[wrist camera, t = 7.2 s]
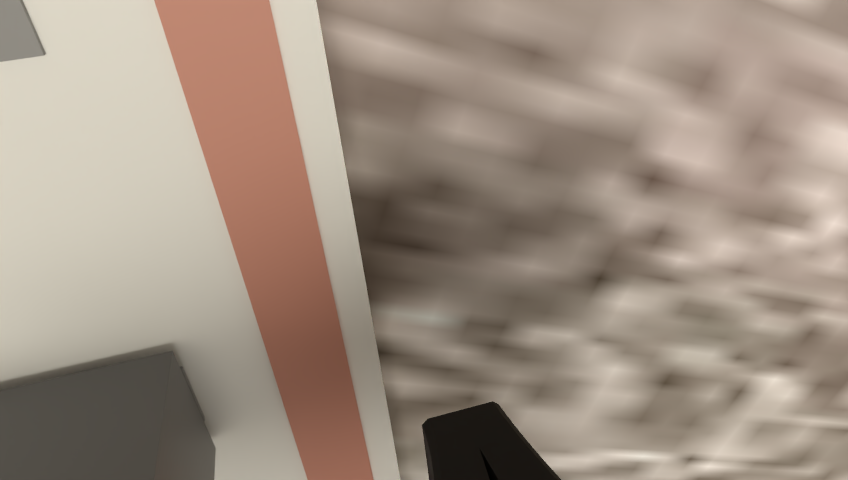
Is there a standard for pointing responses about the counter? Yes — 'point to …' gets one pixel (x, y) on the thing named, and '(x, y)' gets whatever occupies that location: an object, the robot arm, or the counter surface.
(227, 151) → the breaker panel
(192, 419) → the block
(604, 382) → the counter surface
